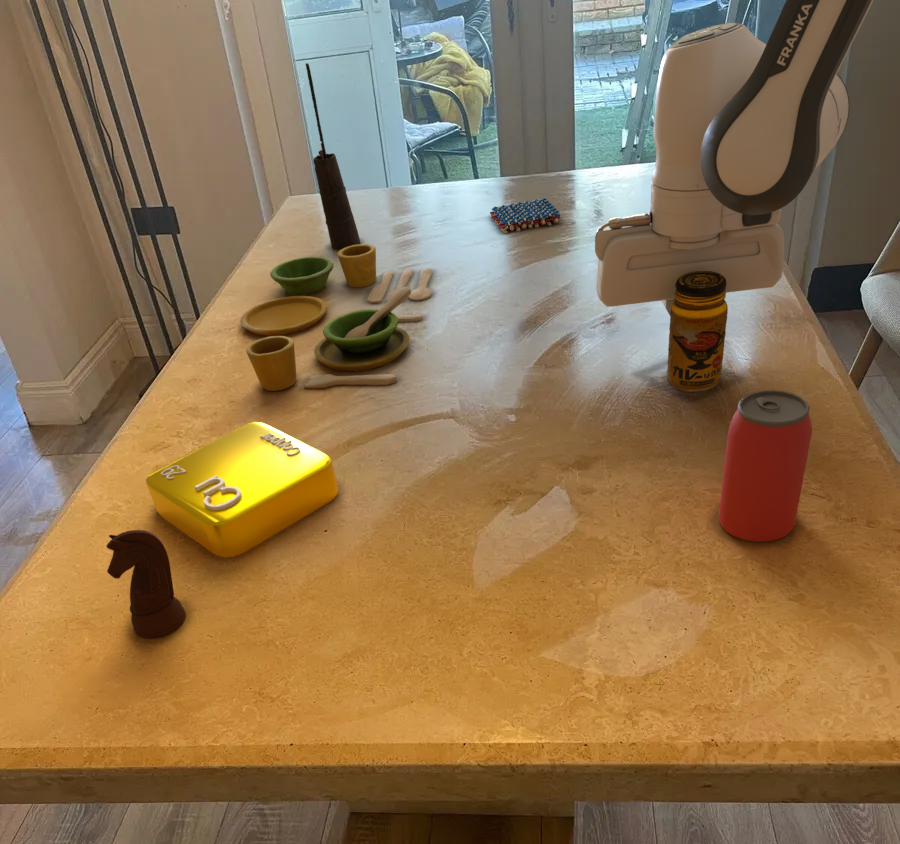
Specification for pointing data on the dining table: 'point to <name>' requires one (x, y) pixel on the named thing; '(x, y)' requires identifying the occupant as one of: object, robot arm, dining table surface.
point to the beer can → (765, 465)
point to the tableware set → (331, 322)
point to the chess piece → (147, 583)
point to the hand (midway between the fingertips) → (684, 331)
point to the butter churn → (333, 193)
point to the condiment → (697, 331)
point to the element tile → (242, 488)
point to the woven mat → (524, 215)
